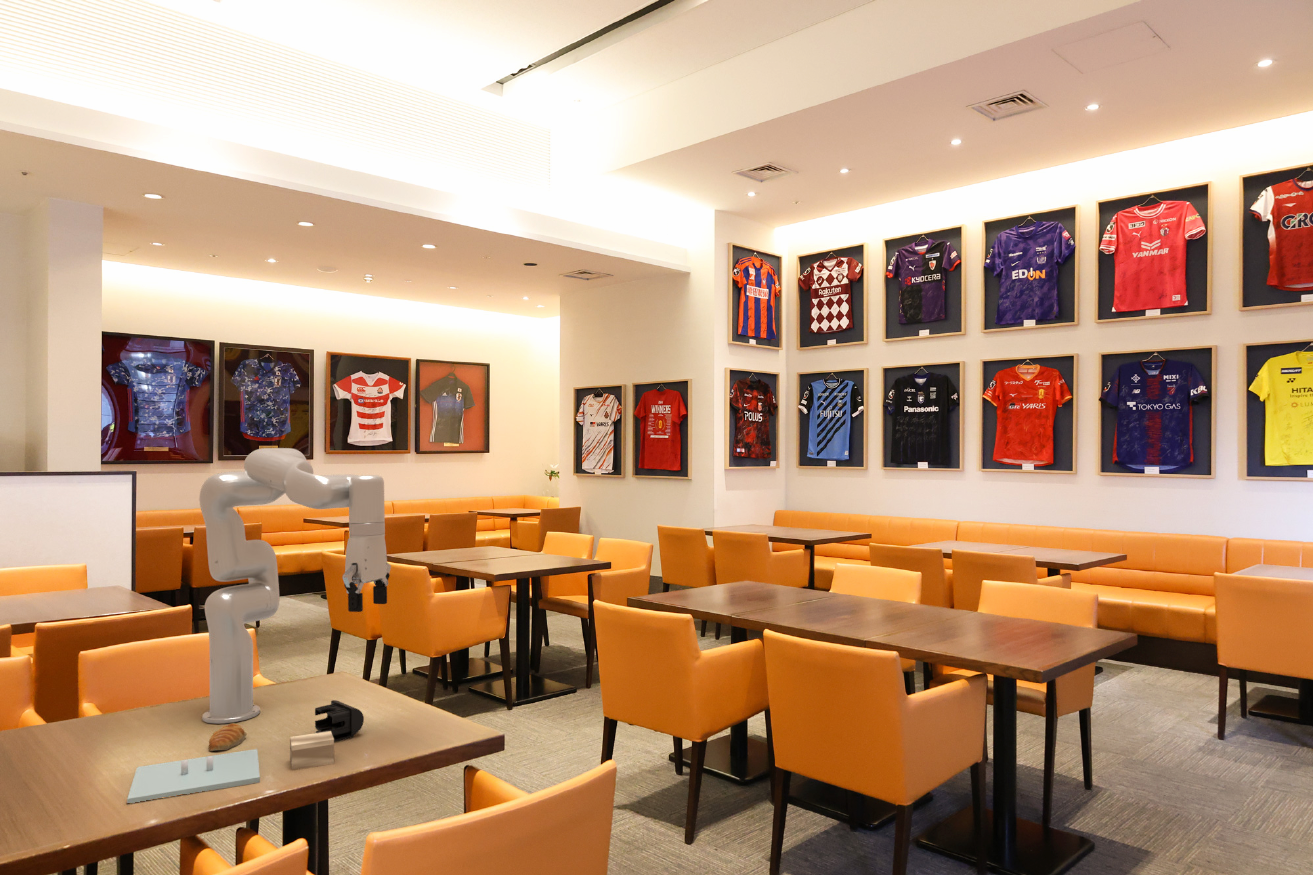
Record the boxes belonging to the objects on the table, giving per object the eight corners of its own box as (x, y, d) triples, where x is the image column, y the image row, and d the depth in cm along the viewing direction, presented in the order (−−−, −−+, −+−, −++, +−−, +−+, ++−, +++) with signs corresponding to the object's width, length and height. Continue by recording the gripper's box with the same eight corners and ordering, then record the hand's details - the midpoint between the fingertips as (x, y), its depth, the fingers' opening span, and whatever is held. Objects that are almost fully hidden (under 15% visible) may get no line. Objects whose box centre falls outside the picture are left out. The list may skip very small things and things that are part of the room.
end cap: (364, 735, 192) (364, 705, 192) (334, 743, 187) (334, 712, 187) (343, 726, 199) (343, 697, 199) (314, 733, 194) (314, 704, 194)
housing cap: (290, 761, 176) (290, 736, 176) (331, 754, 180) (330, 730, 180) (291, 770, 171) (291, 745, 171) (334, 763, 174) (333, 739, 175)
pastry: (233, 752, 182) (233, 734, 182) (200, 754, 181) (199, 737, 181) (248, 738, 191) (248, 721, 191) (216, 740, 190) (216, 723, 190)
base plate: (137, 771, 171) (137, 754, 171) (257, 753, 181) (257, 737, 181) (127, 804, 155) (127, 785, 155) (259, 782, 165) (259, 764, 165)
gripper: (373, 527, 198) (374, 600, 197) (328, 534, 181) (329, 614, 180) (402, 527, 196) (403, 601, 195) (360, 534, 179) (361, 615, 179)
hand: (368, 607), depth 188 cm, fingers open, 9 cm apart
